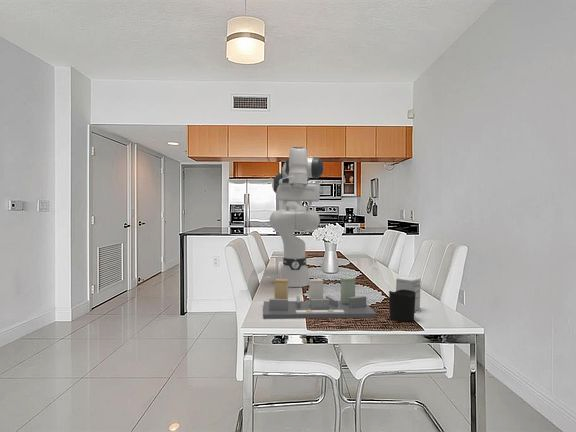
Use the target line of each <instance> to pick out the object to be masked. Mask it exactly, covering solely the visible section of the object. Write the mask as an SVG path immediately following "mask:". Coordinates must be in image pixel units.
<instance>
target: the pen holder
mask: <svg viewBox="0 0 576 432" xmlns="http://www.w3.org/2000/svg"><path fill="white" fill-rule="evenodd" d="M388 293H389V294H388V300H389V301H388V302H389V318H390V319H391V320H392V319H393V320H392V321H395V320H397V321H396V322H402V321H408V322H412V321H414V320H415V312H416V311H415V294H416V293H415V292H414V291H411V290H398V291H396V290H395V291H392V290H389V291H388Z"/></svg>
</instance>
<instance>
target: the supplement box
mask: <svg viewBox="0 0 576 432" xmlns="http://www.w3.org/2000/svg"><path fill="white" fill-rule="evenodd" d="M421 279H422V278H419V277H413V276H405V275H404V276H400V277H397V278H396V280H395V282H396V283H395V292H396V291H398V290H411V291H414V292H415V293H416V294H415V312H416V311H419V310H420V308H421V283H422V281H421Z"/></svg>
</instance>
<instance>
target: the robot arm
mask: <svg viewBox="0 0 576 432" xmlns="http://www.w3.org/2000/svg"><path fill="white" fill-rule="evenodd" d="M324 168H325V167H324V162H323V160H322V159H321V158H320V157H308V151H307V148H306V147H303V146H293V147H292V146H291V148H290V149H289V155H288V158H287V159H286V160H285V161H284V164H283V166H282V173H281V172H278V174H277V175H275V176H274V177H273V179H272V181H271V187H272V190H273V192H274V193H275V200H276V201H278V202H282V204H281V205H282V209H278V210H273V211H272V212H271V214H270V216H269V224H270V226H271V228H272V229H273V230H274V231H276V232H277V233H278V235H279V236H280V238H281V240H282V244H283V258H282V264H283V265H282V266H281V268H280V270H279V271H278V275H279V277H278V279H288V288H302V287H307V286H309V279H310V269H309V267H308V266H307V257H306V243H305V241H304V240H303V239H301V238H300V237H298V236H296V235H294V232H307V231H313V230H317V228H319V226H320V223H321V217H320V215H319V213H318V211H315V210H312V209H310V208H311V206H312V204H313V203H316V202H319V201H320V199H321V198H320V197H321V196H320V191H321V184H320V183H319V182H317V181H311V180H310V179H311V178H312V179H319V178H320V177H321V176H322V175H323V172H324ZM303 202H307V203H308V206H306V207H305V206H304V205H303Z"/></svg>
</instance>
